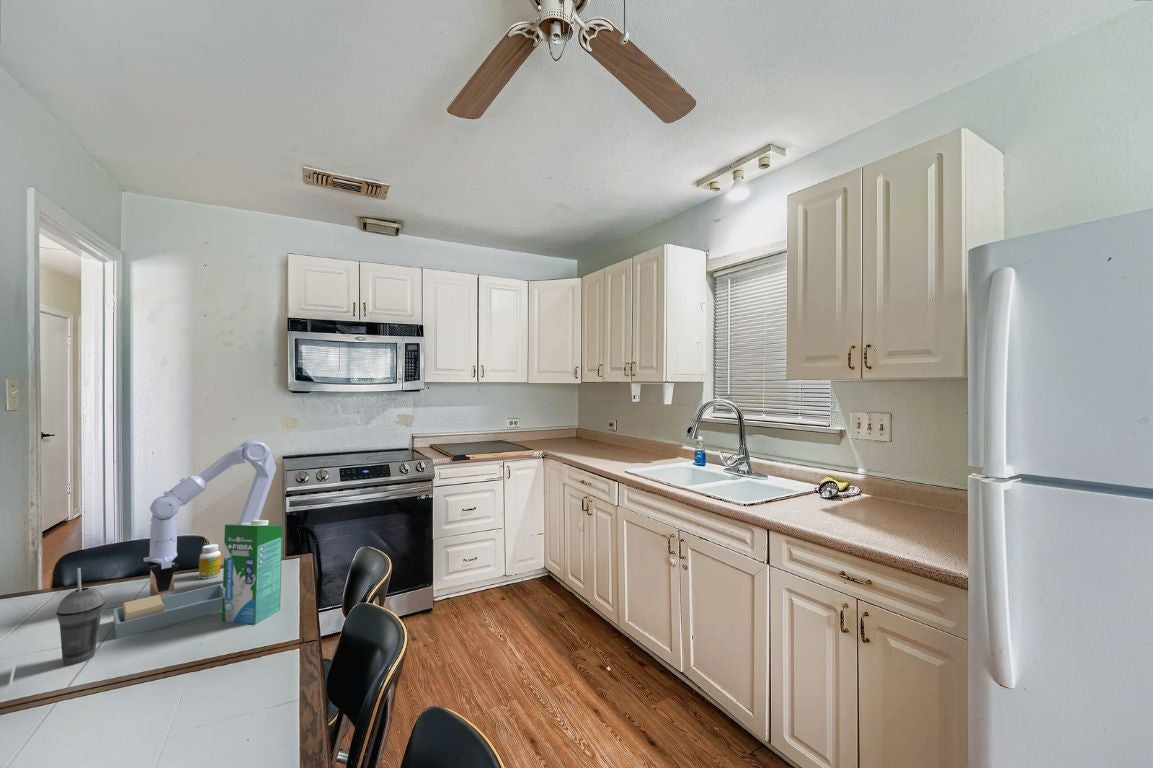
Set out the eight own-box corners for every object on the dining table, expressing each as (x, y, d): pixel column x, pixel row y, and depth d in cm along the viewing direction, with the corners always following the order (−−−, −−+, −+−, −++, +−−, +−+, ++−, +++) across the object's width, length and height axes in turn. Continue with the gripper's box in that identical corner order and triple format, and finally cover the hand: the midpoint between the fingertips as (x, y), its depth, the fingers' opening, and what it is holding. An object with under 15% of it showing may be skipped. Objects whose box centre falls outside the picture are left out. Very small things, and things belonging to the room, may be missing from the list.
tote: (221, 597, 133) (221, 583, 133) (230, 610, 125) (231, 595, 125) (113, 624, 117) (113, 608, 117) (116, 641, 109) (116, 624, 109)
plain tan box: (159, 613, 122) (159, 594, 122) (163, 624, 116) (164, 604, 116) (121, 622, 117) (122, 602, 117) (124, 634, 111) (125, 613, 111)
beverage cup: (70, 673, 96) (74, 575, 97) (44, 669, 98) (48, 573, 98) (111, 654, 103) (115, 563, 104) (86, 651, 105) (90, 561, 105)
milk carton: (280, 609, 126) (283, 516, 127) (254, 625, 117) (257, 525, 118) (249, 607, 127) (252, 515, 128) (221, 623, 118) (224, 524, 119)
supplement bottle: (206, 580, 146) (207, 549, 146) (194, 578, 148) (195, 547, 148) (224, 574, 151) (225, 544, 152) (212, 572, 153) (213, 542, 153)
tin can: (172, 592, 134) (173, 560, 134) (175, 597, 131) (176, 565, 131) (148, 597, 130) (149, 565, 131) (150, 603, 127) (151, 569, 127)
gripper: (141, 537, 133) (140, 585, 133) (147, 548, 123) (145, 600, 123) (174, 532, 138) (172, 578, 138) (181, 542, 128) (180, 592, 128)
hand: (162, 588), depth 131 cm, fingers closed on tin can, 5 cm apart
